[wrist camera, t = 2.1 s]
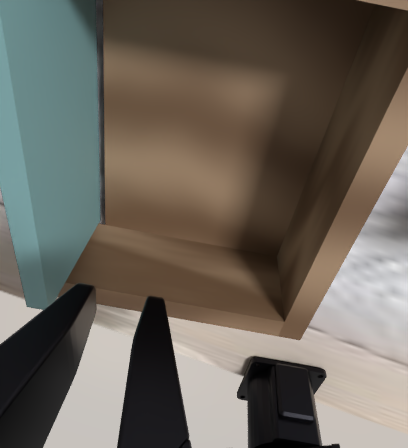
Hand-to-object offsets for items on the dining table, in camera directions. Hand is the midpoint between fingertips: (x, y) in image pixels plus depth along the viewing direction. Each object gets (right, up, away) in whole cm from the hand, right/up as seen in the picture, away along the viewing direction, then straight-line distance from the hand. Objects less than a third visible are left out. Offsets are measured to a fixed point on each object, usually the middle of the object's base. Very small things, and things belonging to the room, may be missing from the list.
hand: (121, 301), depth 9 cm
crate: (+3, +7, +10) cm, 12 cm away
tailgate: (-3, +7, +9) cm, 12 cm away
